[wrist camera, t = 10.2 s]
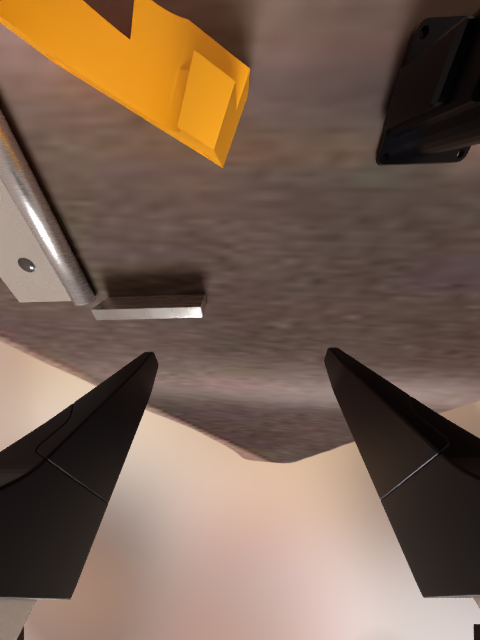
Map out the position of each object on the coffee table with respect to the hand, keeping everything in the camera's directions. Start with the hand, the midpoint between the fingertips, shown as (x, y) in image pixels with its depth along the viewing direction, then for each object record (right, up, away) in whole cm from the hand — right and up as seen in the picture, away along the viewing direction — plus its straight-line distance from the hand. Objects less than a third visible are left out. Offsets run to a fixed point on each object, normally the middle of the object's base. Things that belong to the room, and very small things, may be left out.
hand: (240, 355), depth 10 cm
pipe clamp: (-6, +18, +3) cm, 19 cm away
